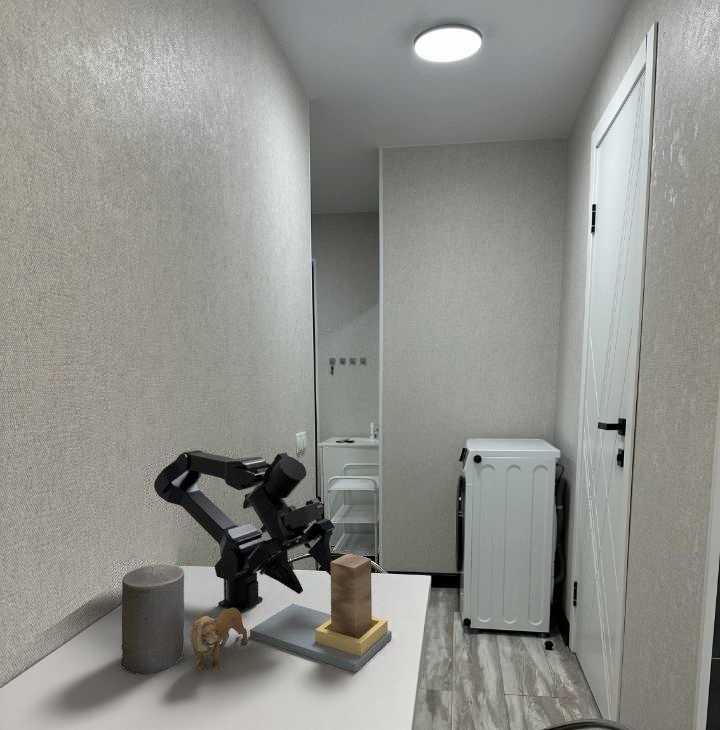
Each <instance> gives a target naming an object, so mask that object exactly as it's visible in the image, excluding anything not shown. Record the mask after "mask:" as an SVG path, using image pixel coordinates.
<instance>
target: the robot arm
mask: <svg viewBox="0 0 720 730" xmlns="http://www.w3.org/2000/svg"><path fill="white" fill-rule="evenodd" d="M203 474H204V475H207V476H209V477H210V476H211V477H215V478H219V479H222V480H224V482H225V484H226V485H227V486H228V487H231V488H233V489H235V490H237V491H243V490H248V489H251V488H253V490H252V491H251V492H249V493H246V494H244V500H243V503H242V508H243V509H244V510H245V509H250V508H252V509H253V510H254V512H255V513H256V515H257V518H258V519H259V520H260V522H261V524H262V526H261V527H260V531H258V529H257V528H256V527H255V526H254V525H253V524H252V523H249V522H248V523H244V524H241V525H237V524H236V523H235V522H234V521H233V520H232V519H231V517H228V516H227V515H226V513H224V512H223V511H222V510H221V508H219V507H218V506H217V505H216V504H215V503H214V502H213V501H212V500H211V499H210V498H209V497H207V495H205V494H204V493H203V492H202V491H201V489H200V488H199V485H200V484H199V480H200V479H201V477H202V475H203ZM306 476H307V470H306V467H305V465H304V464H303V463H302V462H300V461H299V460H298V459H296V458H294V457H292V456H289V455H288V453H287V452H286V451H285V452H284V451H283V452H279V453H277V454H276V455H275V457H274V460H273V461H272V462H271V463H268V462H267V461H266V459H265V458H264V457H261V456H255V457H254V456H253V457H251V456H250V457H240V458H232V457H229V456H228V457H227V456H224V455H218V454H214V453H209V452H204V451H202V450H199V449H196V450H190V451H184V452H182V453H180V454H179V455H178V456H177V458H176V459H175V460H173V462H171V463H169V465H167V466H166V467H164V468H163V469H162V470H161V472H160V473H158V475H157V476H156V478H155V480H154V483H153V488H154V491H155V492H156V494H157V496H158V497H159V498H160V499H162V500H164V501H165V502H167V503H168V504H172V505H177V506H180V507H182V508H183V509H184V511H186V512H187V514H188V515H190V517H191V518H193V520H195V521H196V523H198V524H199V525H200V527H202V529H203V530H204V531H206V533H208V535H209V536H210V537H211V538H213V539H214V540H215V542H217V544H218V545H219V556H220V559H219V560H218V561H217V562H216V564H214V570H215V575H216V577H217V578H219V579H223V599H222V600H220V601H218V603H217V605H218V606H219V607H222V608H226V609H230V608H237V609H238V610H239V611H240V613H243V612H245V611H246V610H248V609H250V608H252V607H253V606H255V605H257V604H258V603H260V602H262V601H263V597H261V596H260V595H259V581H258V573H259V575H266V576H267V577H269V578H271V579H273V580H275V581H277V582H278V583H280V584H282V585H284V586H285V587H287V588H288V589H290V590H291V591H293V592H295V593H296V594H298V595H300V594H302V593H303V592H304V588H303V586H302V584H301V582H300V581H299V578H298V576H297V574H296V572H295V571H294V570H293V567H292V566H291V564H290V563H289V562H290V561H289V555H288V552H289V551H291V550H293V549H296V548H299V547H301V546H303V545H304V547H305V548H307V549H309V550H308V551H307V554H309V555H310V556H311V557H312V558H313V559H314V561H316V562H317V564H318V565H319V566H320V567H321V568H322V569H323V570H324V571H325V572H326V573H327V574H328V575H329V576H330V577H331V562H332V561H334V560H333V556H332V551H331V546H330V542H331V537H332V536H333V535H334V530H336V527H335V525H334V524H333V522H332V521H331V519H328V518H322V514H324V511H325V509H324V505H323V504H322V502H321V501H320V500H319V499H318V497H314V498H312V499H309V500H306V501H305V506H301V507H299V508H297V507H296V506H295V505H290V506H288V504H287V502H286V501H285V499H287V498H289V497H290V496H291V495H292V494H293V492H294V491H295V490H296V489H297V488H298V486H299V485H300V484H301V483H302V482H303V481H304V479H305V478H306ZM314 521H315V522H314ZM312 523H313V524H312ZM310 524H311V526H310ZM305 530H306V531H305ZM265 533H267V534H268V535H269V537H270V538H269V539H267V540H266V539H265V537H263V534H265Z"/></svg>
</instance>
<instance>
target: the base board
mask: <svg viewBox="0 0 720 730" xmlns="http://www.w3.org/2000/svg"><path fill="white" fill-rule="evenodd" d="M388 623H389V621H388V619H384V618H380V617H376V616H372V628H371V629H370V630H369V631H368V632H367V633H366V634H364V635H363V636H362V637H361V638H360V639H356V638H353V637H349V636H346V635H343V634H339V633H336V632H333V631H331V613H327V612H323V611H320V610H316V609H312V608H309V607H306V606H302V605H300V604H299V605H298V604H296V603H291V604H290V605H288V606H286V607H284V608H283V609H281V610H280V611H278V612H276V613H275V614H273V615H272V616H270V617H269V618H267V619H265V620H264V621H262V622H260V623H259V624H257V625H256V626H254V627H252V628H250V629H249V637H250V638H254V639H255V640H258V641H262V642H266V643H268V644H271V645H272V646H273V645H274V646H276V647H279V648H282V649H285V650H288V651H291V652H295V653H297V654H300V655H303V656H306V657H309V658H311V659H314V660H317V661H320V662H323V663H327V664H329V665H332V666H334V667H335V666H336V667H338V668H341V669H344V670H347V671H349V672H353V673H356V672H357V671H358V670H360V669H361V668H362V667H363V666H364V665H365V664H366V663H367V662H368V661H369V660H370V659H371V658H372V657H374V656H375V655H376V654H377V653H378V652H379V651H380V650H381V649H382V648H384V646H385V645H386V644H387V643H388V642H389V641H390V640H392V638H393V637H392V635H393V634H392V633H393V632H392V631H391V630H388V629H389V628H388Z"/></svg>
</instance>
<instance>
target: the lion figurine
mask: <svg viewBox="0 0 720 730" xmlns="http://www.w3.org/2000/svg"><path fill="white" fill-rule="evenodd" d="M241 613H242V612H240V611H239V610H238V609H237V608H230V609H228V608H226V609H224V610H223V611H222V612H221V613H220V614H219V615H218V616H217V617H216V618H213V617H210V616H208V615H206V616H205V615H204V616H200V617H199V618H197V619H196V620H195V621H193V624H192V626H191V627H190V633H189V637H190V639H189V641H190V646H191V648H192V649H193V651H194V653H196V654H197V658H198V663H197V664H196V665H195V669H196V670H202V669H203V668H204V667H205V662H206V661H205V656H206V655H209V654H210V653H211V652H212V662H211V669H212V671H216V670H220V650H222V649H225V647H226V645H227V642H228V640H229V638H230V634H229V632H230V630H231V629H233V630H234V631H235V632H236V633H237V635H242V638H241V639H240V641H239V642H240V644H241V645H247V643H248V632H247V631H248V630H247V628H246V627H245V626H244V623H243V618H242V614H241ZM220 642H221V643H220Z"/></svg>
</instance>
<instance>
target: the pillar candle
mask: <svg viewBox="0 0 720 730" xmlns="http://www.w3.org/2000/svg"><path fill="white" fill-rule="evenodd" d="M121 581H122V582H121V583H122V584H121V589H122V590H121V656H122V657H121V660H120V662H121V663H120V665H121V667H122V666H123V667H124V668H123V667H122V668H123V669H125V670H124V671H126V672H129V673H130V674H131V673H132V674H137V673H138V674H137V675H147V674H154V673H158V672H161V671H163V670H164V671H165V670H166V669H169V668H170V666H171V667H173V666H174V665H176V664H177V663H178V662H179V661H180V660H181V659H182V658H183V656H184V651H185V649H184V648H185V643H184V642H185V635H184V634H185V570H184V569H183V567H180V566H179V565H177V564H167V563H165V564H164V563H163V564H159V563H158V564H151V565H150V564H148V565H146V566H141V567H138V568H136V569H133V570H130V571H129V572H127V573H126V574H125V575H124V576H122V579H121ZM181 657H182V658H181ZM180 658H181V659H180ZM176 662H177V663H176ZM153 672H154V673H153ZM145 673H147V674H145Z"/></svg>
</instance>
